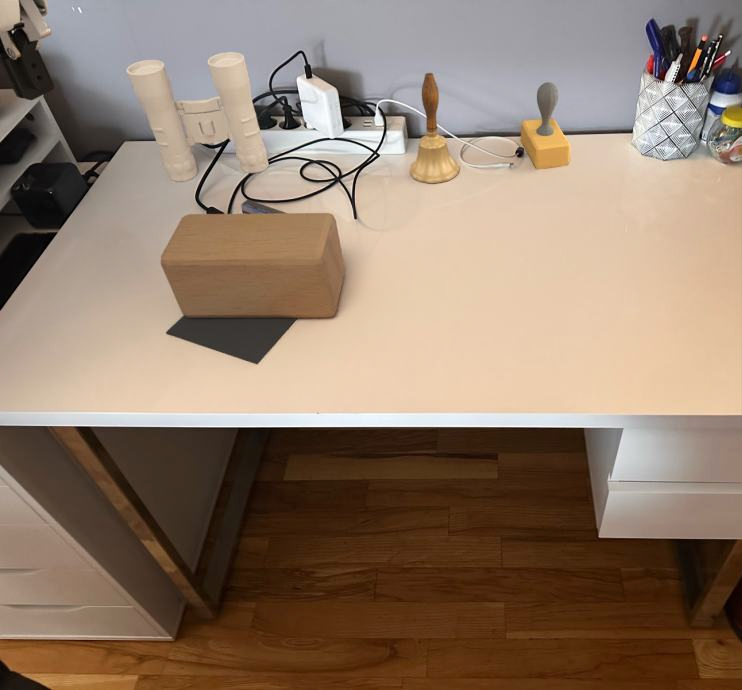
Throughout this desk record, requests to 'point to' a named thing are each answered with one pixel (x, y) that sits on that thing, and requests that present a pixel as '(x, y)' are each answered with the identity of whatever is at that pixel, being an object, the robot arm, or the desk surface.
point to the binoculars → (201, 115)
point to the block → (255, 265)
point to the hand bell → (432, 143)
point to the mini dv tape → (257, 208)
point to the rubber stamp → (545, 132)
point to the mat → (233, 334)
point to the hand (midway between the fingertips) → (36, 93)
